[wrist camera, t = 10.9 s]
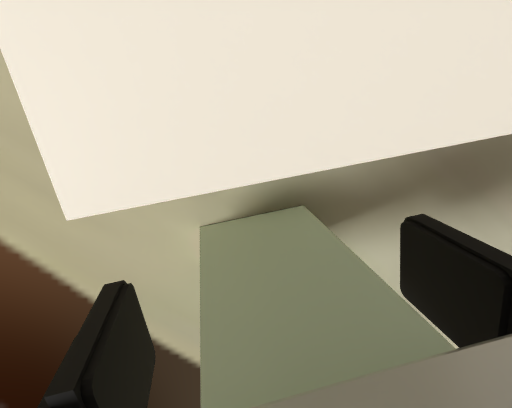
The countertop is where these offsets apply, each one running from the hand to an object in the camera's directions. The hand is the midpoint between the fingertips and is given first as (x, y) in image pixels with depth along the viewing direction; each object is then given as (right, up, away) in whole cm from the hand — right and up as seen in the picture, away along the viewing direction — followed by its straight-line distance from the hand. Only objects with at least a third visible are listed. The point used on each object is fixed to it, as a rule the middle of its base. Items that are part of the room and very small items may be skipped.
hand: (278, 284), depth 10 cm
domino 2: (-1, +1, +4) cm, 5 cm away
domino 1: (-2, +7, +2) cm, 8 cm away
